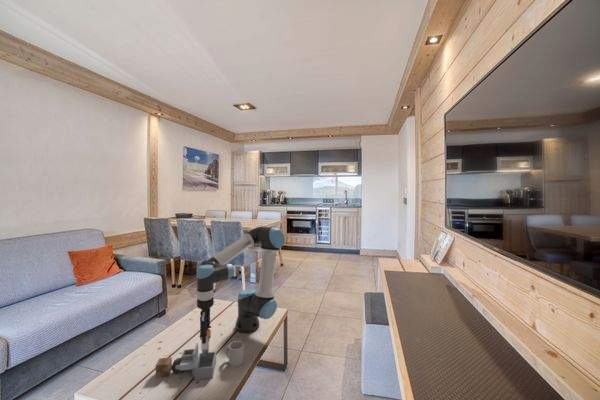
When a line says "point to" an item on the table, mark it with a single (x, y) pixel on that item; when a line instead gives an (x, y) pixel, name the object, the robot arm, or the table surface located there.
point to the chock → (163, 367)
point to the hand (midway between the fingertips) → (205, 345)
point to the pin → (206, 351)
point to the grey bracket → (186, 361)
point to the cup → (235, 353)
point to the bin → (205, 366)
